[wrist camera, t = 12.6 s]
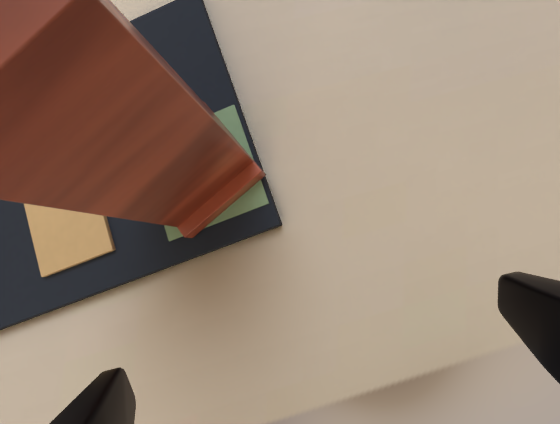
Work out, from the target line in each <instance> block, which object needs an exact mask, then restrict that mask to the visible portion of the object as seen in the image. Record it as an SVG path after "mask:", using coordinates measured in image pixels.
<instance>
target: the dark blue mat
mask: <svg viewBox="0 0 560 424" xmlns="http://www.w3.org/2000/svg"><path fill="white" fill-rule="evenodd" d="M130 23H131V24H132V25H133V26H134V27H135V28H136V29H137V30H138V31H139V32H140V33H141V35H142V36H143V37H144V38H145V39H146V40H147V41H148V42H149V43H150V44H151V45H152V47H153V48H154V49H155V50H156V51H157V52H158V53H159V54H160V55H161V56H162V57H163V58H164V60H165V61H166V62H167V63H168V64H169V65H170V66H171V67H172V68H173V69H174V70H175V72H176V73H177V74H178V75H179V76H180V77H181V78H182V79H183V80H184V81H185V82H186V84H187V85H188V86H189V87H190V88H191V89H192V90H193V91H194V92H195V93H196V94H197V95H198V97H199V98H200V99H201V100H202V101H203V102H205V103H206V105H207V106H208V107H209V108H210V109H211V110H212V111H213V112H214V114H215V115H216V116H217V117H218V118H219V120H220V121H221V122H222V123H223V124H224V126H225V127H226V128H227V129H228V130H229V131H230V133H231V134H232V135H233V136H234V137H235V139H236V140H237V141H238V142H239V143H240V145H241V146H242V147H243V148H244V149H245V150H246V152H247V153H248V154H249V155H250V156H251V158H252V159H253V160H254V161H255V162H256V163H257V165H258V166H259V167H260V168H261V169H262V166H261V163H260V161H259V158H258V155H257V152H256V149H255V146H254V144H253V141H252V138H251V135H250V132H249V130H248V127H247V124H246V121H245V118H244V115H243V113H242V110H241V107H240V104H239V101H238V98H237V96H236V93H235V90H234V87H233V84H232V82H231V79H230V76H229V73H228V70H227V67H226V65H225V62H224V59H223V56H222V53H221V50H220V48H219V45H218V42H217V39H216V36H215V34H214V31H213V28H212V25H211V22H210V19H209V17H208V14H207V11H206V8H205V5H204V3H203V0H175V1H173V2H171V3H168V4H166V5H164V6H162V7H160V8H158V9H155V10H153V11H151V12H149V13H147V14H145V15H143V16H140V17H138V18H136V19H134V20H132V21H130ZM262 171H263V169H262ZM281 225H282V223H281V220H280V217H279V214H278V211H277V209H276V206H275V203H274V200H273V197H272V194H271V192H270V189H269V186H268V183H267V180H266V177H265V176H264V177H263V178H262V179H261V180H260V181H258V182H257V183H256V184H255V185H254V186H253V187H251V188H250V189H249V190H248V191H247V192H246V193H244V194H243V195H242V196H241V197H240V198H239V199H237V200H236V201H235V202H234V203H233V204H232V205H231V206H229V207H228V208H227V209H226V210H225V211H224V212H222V213H221V214H220V215H219V216H218V217H217V218H215V219H214V220H213V221H212V222H211V223H210V224H208V225H207V226H206V227H205V228H204V229H203V230H201V231H200V232H199V233H198V234H197V235H196V236H194V237H193V238H185V237H184V236H183V235H182V234H181V232H180V231H179V230H178V228H177V227H173V226H166V225H160V224H153V223H147V222H140V221H134V220H128V219H121V218H115V217H108V216H102V215H95V214H89V213H82V212H76V211H69V210H63V209H57V208H50V207H44V206H37V205H31V204H24V203H18V202H11V201H5V200H0V330H2V329H5V328H7V327H10V326H13V325H15V324H18V323H21V322H23V321H26V320H29V319H32V318H34V317H37V316H40V315H42V314H45V313H48V312H50V311H53V310H56V309H58V308H61V307H64V306H67V305H69V304H72V303H75V302H77V301H80V300H83V299H85V298H88V297H91V296H93V295H96V294H99V293H101V292H104V291H107V290H110V289H112V288H115V287H118V286H120V285H123V284H126V283H128V282H131V281H134V280H136V279H139V278H142V277H145V276H147V275H150V274H153V273H155V272H158V271H161V270H163V269H166V268H169V267H171V266H174V265H177V264H179V263H182V262H185V261H188V260H190V259H193V258H196V257H198V256H201V255H204V254H206V253H209V252H212V251H214V250H217V249H220V248H223V247H225V246H228V245H231V244H233V243H236V242H239V241H241V240H244V239H247V238H249V237H252V236H255V235H257V234H260V233H263V232H266V231H268V230H271V229H274V228H276V227H279V226H281Z"/></svg>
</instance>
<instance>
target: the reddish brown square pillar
mask: <svg viewBox="0 0 560 424" xmlns="http://www.w3.org/2000/svg"><path fill="white" fill-rule="evenodd" d="M265 175H266V174H265V173H264V172H263V171H262V169H261V168H260V167H259V166H258V165H257V163H256V162H255V161H254V160H253V159H252V158H251V156H250V155H249V154H248V153H247V152H246V150H245V149H244V148H243V147H242V146H241V145H240V143H239V142H238V141H237V140H236V139H235V137H234V136H233V135H232V134H231V133H230V131H229V130H228V129H227V128H226V127H225V126H224V124H223V123H222V122H221V121H220V120H219V118H218V117H217V116H216V115H215V114H214V112H213V111H212V110H211V109H210V108H209V107H208V106H207V105H206V103H205V102H203V101H202V100H201V99H200V98H199V97H198V95H197V94H196V93H195V92H194V91H193V90H192V89H191V88H190V87H189V86H188V85H187V84H186V82H185V81H184V80H183V79H182V78H181V77H180V76H179V75H178V74H177V73H176V72H175V70H174V69H173V68H172V67H171V66H170V65H169V64H168V63H167V62H166V61H165V60H164V58H163V57H162V56H161V55H160V54H159V53H158V52H157V51H156V50H155V49H154V48H153V47H152V45H151V44H150V43H149V42H148V41H147V40H146V39H145V38H144V37H143V36H142V35H141V33H140V32H139V31H138V30H137V29H136V28H135V27H134V26H133V25H132V24H131V23H130V21H129V20H128V19H127V18H126V17H125V16H124V15H123V14H122V13H121V12H120V11H119V10H118V8H117V7H116V6H115V5H114V4H113V3H112V2H111V1H110V0H0V200H5V201H11V202H18V203H24V204H31V205H37V206H44V207H50V208H57V209H63V210H69V211H76V212H82V213H89V214H95V215H102V216H108V217H115V218H121V219H128V220H134V221H140V222H147V223H153V224H160V225H166V226H173V227H177V228H178V230H179V231H180V232H181V234H182V235H183V236H184V237H185V238H193V237H194V236H196V235H197V234H198V233H199V232H200V231H201V230H203V229H204V228H205V227H206V226H207V225H208V224H210V223H211V222H212V221H213V220H214V219H215V218H217V217H218V216H219V215H220V214H221V213H222V212H224V211H225V210H226V209H227V208H228V207H229V206H231V205H232V204H233V203H234V202H235V201H236V200H237V199H239V198H240V197H241V196H242V195H243V194H244V193H246V192H247V191H248V190H249V189H250V188H251V187H253V186H254V185H255V184H256V183H257V182H258V181H260V180H261V179H262V178H263V177H264V176H265Z"/></svg>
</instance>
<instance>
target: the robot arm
mask: <svg viewBox="0 0 560 424" xmlns="http://www.w3.org/2000/svg"><path fill="white" fill-rule="evenodd" d="M498 308H499V311H500V313H501V314H502V316H503V317H504V318H505V319H506V321H507V322H508V323H509V324H510V326H511V327H512V328H513V329H514V331H515V332H516V333H517V334H518V336H519V337H520V338H521V339H522V341H523V342H524V343H525V344H526V346H527V347H528V348H529V349H530V351H531V352H532V353H533V354H534V356H535V357H536V358H537V359H538V361H539V362H540V363H541V364H542V365H543V366H544V368H545V369H546V370H547V371H548V372H549V373H550V374H551V375H552V376H553V377H554V378H555V380H557V382H558V383H559V384H560V281H557V280H553V279H549V278H544V277H540V276H535V275H531V274H526V273H522V272H513V273H509V274H504V275H502V276H501V277H500V278H499V281H498ZM135 409H136V401H135V395H134V393H133V390H132V387H131V385H130V382H129V380H128V377H127V375H126V372H125V371H124V369H122V368H116V369H111V370H107V371H104V372H102V373H101V374H100V375H99V376H98V377H97V378H96V379H95V380H94V381H93V382H92V383H91V384H89V385H88V386H87V387H86V388H85V389H84V390H83V391H82V392H81V393H80V394H79V395H78V396H77V397H76V398H75V399H74V400H73V401H72V402H71V403H70V404H69V405H68V406H67V407H66V408H65V409H64V410H63V411H62V412H61V413H60V414H59V415H58V416H57V417H56V418H55V419H54V420H53V421H52V422H51V423H50V424H134V419H135Z"/></svg>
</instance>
